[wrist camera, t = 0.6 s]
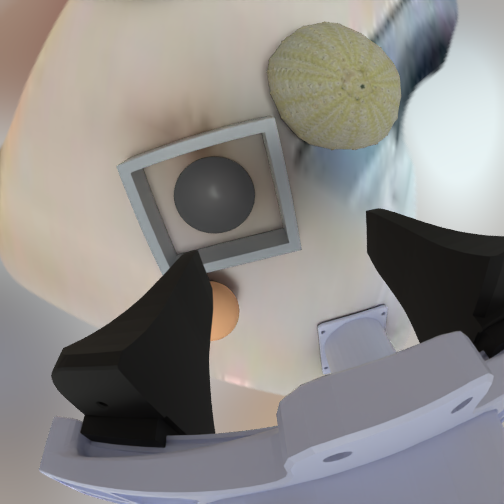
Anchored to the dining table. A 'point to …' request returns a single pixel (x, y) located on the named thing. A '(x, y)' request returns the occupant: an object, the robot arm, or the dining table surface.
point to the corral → (214, 198)
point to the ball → (223, 311)
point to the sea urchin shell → (334, 87)
